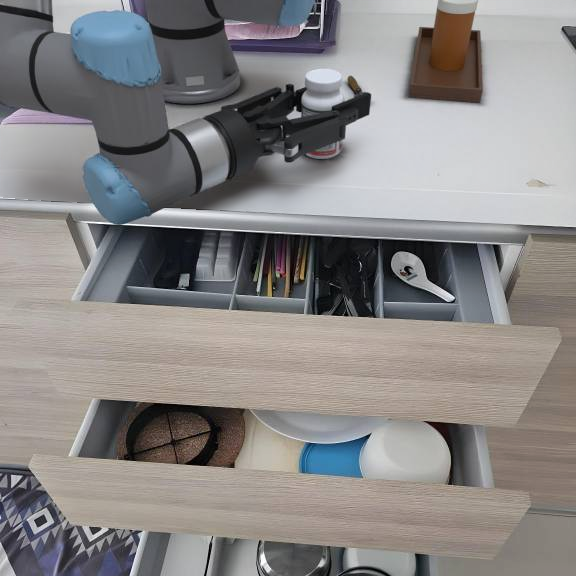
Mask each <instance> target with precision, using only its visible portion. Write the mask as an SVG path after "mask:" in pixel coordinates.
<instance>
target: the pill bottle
mask: <svg viewBox="0 0 576 576" xmlns="http://www.w3.org/2000/svg"><path fill="white" fill-rule="evenodd" d="M342 81H343V76H342V74H341V72H339V71H338V70H335V69H332V68H315V69H312V70H309V71H307V72H306V73H305V75H304V87H306V88H307V90H306V91H305V92H304V94H303V95H302V99H301V112H300V115H301V116H300V117H304V116H309V115H314V114H319V113H324V112H329V111H332V106H334V105H337V104H339V103H342V102H344V101H345V95H344V93H343V92H342V91H341V90H340V89H341V87H342V84H343V83H342ZM342 148H343V140H341V141H338V142H336V143H333V144H330V145H328V146H325V147H323V148H320V149H317V150H315V151H312V152H309V153H307V154H305V155H306V156H307V157H310V158H313V159H317V160H326V159H332V158H334V157H337V155H339V154H340V153H341V151H342V150H343V149H342Z"/></svg>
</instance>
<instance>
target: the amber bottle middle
mask: <svg viewBox="0 0 576 576" xmlns="http://www.w3.org/2000/svg"><path fill="white" fill-rule="evenodd" d="M478 3H479V0H437V5H438V6H436V8H437V7H438V10H437V9H436V11H437V16H436V15H435V17H436V22H435V21H434V23H435V28H434V27H433V28H434V35H433V41H432V47H431V53H430V59H429V65H430V66H431V67H432V68H434V69H437V70H441V71H456V70H460V69H462V68H463V67H464V64H465V59H466V54H467V49H468V44H469V39H470V34H471V30H473V26H474V25H473V24H474V19H475V14H476V11H477V7H478Z"/></svg>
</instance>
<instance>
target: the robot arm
mask: <svg viewBox="0 0 576 576" xmlns="http://www.w3.org/2000/svg"><path fill="white" fill-rule="evenodd" d="M144 4H145V10H146V16H147V20H146V19H145V18H144V17H143V16H141V15H139V14H137V13H135V12H132V11H128V10H119V9H117V10H111V11H107V10H99V11H94V12H90V13H86V14H84V15H81V16H79V17H77V18H76V19H75V20H73V22H72V23H71V25H70V30H69V31H70V33H66V32H58V31H55V30H54V29H55V28H54V16H53V15H54V13H53V0H0V106H4V107H5V108H7V109H12V110H16V109H22V110H29V111H35V112H40V113H41V112H42V113H47V114H54V115H58V116H64V117H68V118H75V119H81V120H87V121H91V123H92V125H93V129H94V132H95V136H96V139H97V145H98V148H99V152H98V153H97V154H96V153H95V154H94V155H93V156H92V157H89V158H87V159H86V160H85V161H84V162H83V164H82V179H83V183H84V187H85V190H86V192H87V194H88V197H89V199H90V201H91V203H92V204H93V205H94V207H95V210H97V211H98V213H99V214H100V216H102V218H104V219H105V220H106V221H107V222H109V223H110V224H113V225H115V226H121V225H125V224H128V223H131V222H134V221H136V220H139V219H140V220H141V219H143V218H145V217H146V218H148V217H151V216H152V215H153V214H155V213H157V212H159V211H161V210H163V209H166V208H167V207H170V206H171V205H173V204H176V203H178V202H180V201H182V200H184V199H187V198H189V197H193V196H194V195H197V194H200V193H201V192H203V191H206V190H209V189H211V188H214V187H216V186H218V185H221V184H222V183H224V182H225V181H232V180H233V179H235V178H237V177H240V176H243V175H245V174H247V173H248V172H250V171H252V169H253V168H254V167H255V164H256V163H257V161H258V160H259V159H260V158H262V157H268V156H272V155H274V154H275V153H276V154H279V155H283V161H284V162H285V163H286V164H288V163H289V164H291V163H293V162H295V161H296V160H297V159H299V158H300V157H301V156H305V155H306V154H307V153H309V152H312V151H315V150H317V149H320V148H323V147H325V146H328V145H330V144H333V143H336V142H338V141H341V140H342V141H343V140H345V139H346V130H347V126H348V125H351V124H352V123H355V122H357V121H358V120H360V119H363V118H366V117H367V116H369V115H370V112H371V101H372V93H370V92H367V91H366V92H367V93H364V94H362V95H359V96H357V97H354V96H353V97H352V98H350V99H347V100H344V102H342V103H339V104H337V105H334V106H332V111H329V112H324V113H319V114H314V115H309V116H304V117H301V116H299V117H294V118H290V119H289V117H288V116H289V115H290V114H292V113H293V112H294V111H296V112H297V113H299V114H301V99H302V95H303V94H304V92H305V91H306V90H307V88H306V86H304V87H302V88H299V89H296V90H295V84H292V83H287V84H285V90H284V91H283V89H282V88H281V87H279V86H276V87H273V88H270V89H267V90H265V91H263V92H260V93H258V94H256V95H254V96H250V97H247V98H246V99H244V100H241V101H239V102H236V103H232V104H226V105H222V106H221V107H220V110H218V111H214V112H213V113H209V114H208V115H205V116H203V117H202V118H200V117H198V118H196V119H195V118H194V119H193V120H190V121H188V122H185V123H182V124H180V125H177V126H175V127H172V128H170V126H169V122H168V115H167V110H166V109H167V108H166V103H165V102H168V103H174V104H184V105H185V104H186V105H190V104H192V105H193V104H204V103H209V102H215V101H218V100H222V99H224V98H226V97H228V96H230V95H232V94H233V93H235V92H236V91H237V90H238V89H239V88H240V85H241V73H240V68H239V65H238V62H237V59H236V57H235V54H234V51H233V49H232V46H231V44H230V43H231V42H230V40H229V38H228V35H227V32H226V25H225V20H228V21H236V22H244V23H251V24H258V25H265V26H271V27H272V26H273V27H278V28H281V27H299V26H300V25H303V24H304V23H305V22H306V21H307V20H308V19H309V17H310V14H311V12H312V10H313V7H314V4H315V0H144Z"/></svg>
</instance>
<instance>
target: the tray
mask: <svg viewBox="0 0 576 576" xmlns="http://www.w3.org/2000/svg"><path fill="white" fill-rule="evenodd" d="M433 30H434V27H430V26H429V27H427V26H419V27H418V32H417V39H416V44H415V45H416V46H415V50H414V51H415V52H414V57H413V63H412V69H411V76H410V82H409V89H408V96H407V97H408V98H414V99H424V100H425V99H428V100H440V101H452V102H463V103H464V102H466V103H478V104H479V103H481V101H482V100H481V99H482V95H483V91H484V83H483V82H484V81H483V62H482V37H481V34H482V33H481V30H480V29H476V30H475V29H472V30H471V34H470V39H469V44H468V49H467V54H466V59H465V64H464V67H463V68H462V69H460V70H456V71H441V70H437V69H434V68H432V67H431V66H430V65H429V59H430V53H431V47H432V46H431V42H432V36H433Z"/></svg>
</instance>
